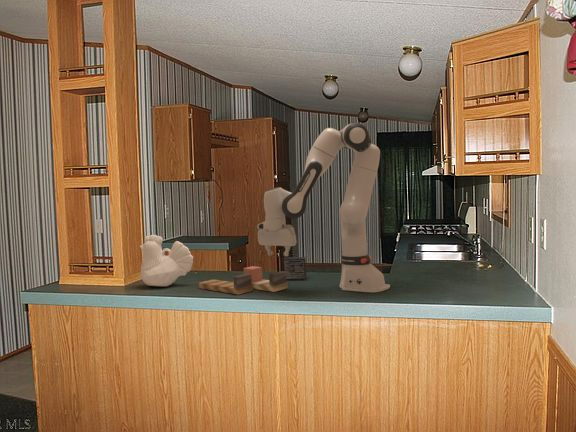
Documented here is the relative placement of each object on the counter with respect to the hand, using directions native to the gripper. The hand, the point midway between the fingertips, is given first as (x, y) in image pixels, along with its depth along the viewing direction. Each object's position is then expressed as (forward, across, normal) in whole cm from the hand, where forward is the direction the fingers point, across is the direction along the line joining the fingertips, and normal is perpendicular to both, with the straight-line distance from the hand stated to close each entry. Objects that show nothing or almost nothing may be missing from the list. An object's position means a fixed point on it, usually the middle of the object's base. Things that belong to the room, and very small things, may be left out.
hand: (278, 255), depth 247 cm
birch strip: (+15, +12, +1) cm, 19 cm away
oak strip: (+14, +22, +13) cm, 30 cm away
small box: (+16, +10, -22) cm, 29 cm away
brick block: (+12, +16, +1) cm, 20 cm away
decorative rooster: (+14, +53, +22) cm, 59 cm away
